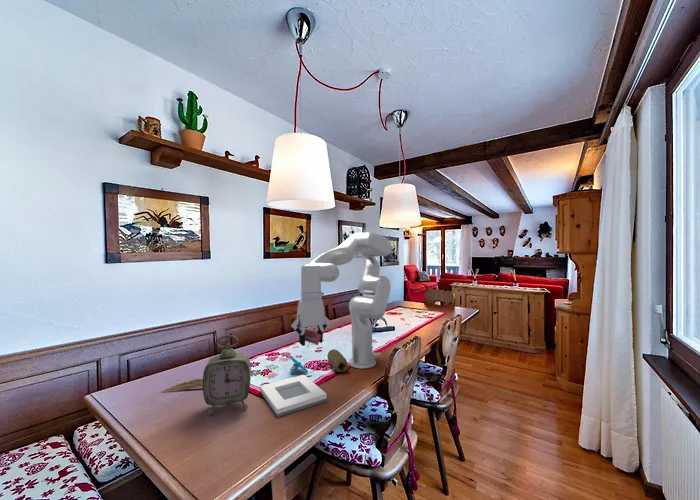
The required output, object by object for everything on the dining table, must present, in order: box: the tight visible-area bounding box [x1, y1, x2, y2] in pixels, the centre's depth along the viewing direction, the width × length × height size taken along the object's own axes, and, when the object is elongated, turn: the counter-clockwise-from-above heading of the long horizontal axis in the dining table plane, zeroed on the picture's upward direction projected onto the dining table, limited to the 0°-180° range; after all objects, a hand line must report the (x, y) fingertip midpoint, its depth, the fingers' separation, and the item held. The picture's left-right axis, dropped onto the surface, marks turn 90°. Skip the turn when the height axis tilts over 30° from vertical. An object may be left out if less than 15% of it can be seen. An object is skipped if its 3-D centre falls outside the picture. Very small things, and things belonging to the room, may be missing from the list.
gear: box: [289, 355, 309, 375], centre depth 129 cm, size 11×6×10 cm
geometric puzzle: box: [304, 327, 321, 348], centre depth 112 cm, size 7×7×8 cm
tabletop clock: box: [202, 334, 252, 416], centre depth 101 cm, size 14×9×25 cm, turn 105°
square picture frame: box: [259, 374, 328, 418], centre depth 108 cm, size 18×20×2 cm
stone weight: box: [327, 349, 349, 373], centre depth 135 cm, size 15×7×7 cm, turn 23°
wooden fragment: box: [161, 378, 203, 393], centre depth 119 cm, size 26×11×1 cm, turn 111°
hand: (311, 343), depth 112 cm, fingers closed on geometric puzzle, 6 cm apart
